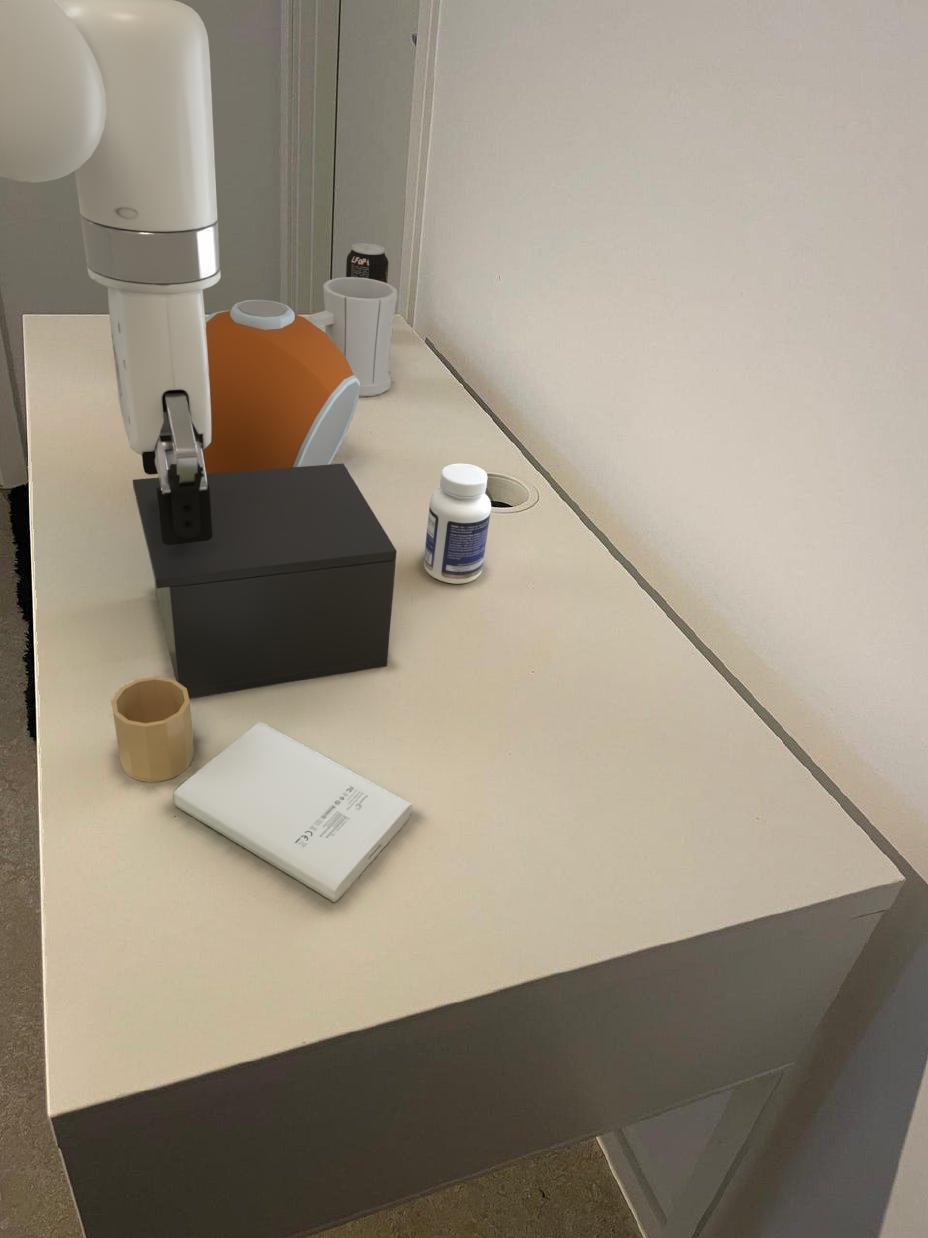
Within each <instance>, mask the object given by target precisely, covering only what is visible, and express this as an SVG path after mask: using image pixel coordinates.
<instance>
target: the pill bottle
mask: <svg viewBox="0 0 928 1238" xmlns="http://www.w3.org/2000/svg"><path fill="white" fill-rule="evenodd" d="M439 483H440V484H439V488H437V489H436V490H434V491H433V492H432V495H431V496H430V500H429V505H428V507H429V508H428V516H427V517H428V518H427V525H426V526H427V527H426V536H425V546H424V556H423V557H424V558H423V566H424V569H425V571H426V572H427V574H428V575H429V576H431V577H432V578H433V579H436V580H437V581H440V582H444V583H448V584H456V585H457V584H458V585H459V584H467V583H471V582H473V581H475V580H476V579H477V578H479V577H480V575H481V574H482V571H483V567H484V561H485V560H484V558H485V553H486V547H487V546H486V545H487V539H488V533H489V525H490V518H491V512H492V501H491V499H490V498H489V496H488V495H487V494H486V490H487V486H488V485H487V484H488V474H487V472H486V471H485V470H484V469H482V468H481V467H479V466H477V465H474V464H469V463H463V462H462V463H451V464H448V465H445V466H444V467H443V468H442V469H441V472H440V480H439Z"/></svg>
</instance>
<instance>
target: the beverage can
mask: <svg viewBox="0 0 928 1238" xmlns="http://www.w3.org/2000/svg"><path fill="white" fill-rule="evenodd" d="M385 252H386V249H385V247H383V246H381V245H378V244H374V243H367V242H362V243H361V242H359V243H358V242H357V243H354V244H352V245H351V250H350V251H349V253H348V254H347V257H346V261H345V265H346V266H345V277H357V278H367V279H373V280H377V281H381V282H385V283H387V284H388V279H389V278H388V276H389V265H390V263H389V259H388V257H387V256H386V253H385Z"/></svg>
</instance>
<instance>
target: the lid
mask: <svg viewBox="0 0 928 1238" xmlns="http://www.w3.org/2000/svg"><path fill="white" fill-rule="evenodd" d="M166 460H167V466H168V470H170V464H175V462H174V454H171V455H166ZM155 465H156V469H157V473H158V467H157V461H156V457H155ZM157 476H158V477H148V478H147V477H146V478H135V479H132V487H133V492H134V498H135V502H136V505H137V509H138V514H139V519H140V523H141V527H142V531H143V536H144V540H145V544H146V548H147V552H148V557H149V562H150V566H151V570H152V575H153V580H154V579H155V582H154V584H155V583H156V588H166V587H174V586H183V585H191V584H199V583H208V582H216V581H224V580H233V579H241V578H249V577H258V576H266V575H274V574H283V573H291V572H299V571H308V570H316V569H325V568H333V567H341V566H350V565H358V564H366V563H375V562H383V561H391V560H397V552H398V551H397V549H396V547H395V546H394V544H393V543H392V541H391V539H390V537H389V536H388V534H387V532H386V531H385V529H384V527H383V526H382V524H381V522H380V521H379V519H378V518H377V516H376V514H375V513H374V511H373V509H372V508H371V506H370V504H369V503H368V501H367V500H366V497H365V495H363V493H362V491H361V490H360V488H359V487H358V485H357V483H356V482H355V480H354V479H353V478H354V477H353V476H352V475H351V473H350V472H349V470H348V468H347V466H346V465H345V463H331V464H330V465H317V466H304V467H291V468H278V469H265V470H252V471H239V472H225V473H212V474H206V478H207V483H208V484H209V488H210V504H211V519H212V534H213V535H212V538H211V539H210V540H208V541H200V542H191V543H182V544H172V545H166V544H164V543H163V542H162V538H161V531H160V521H159V512H158V502H157V493H156V487H161V486H160V480H159V473H158V474H157Z"/></svg>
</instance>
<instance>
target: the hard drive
mask: <svg viewBox="0 0 928 1238" xmlns="http://www.w3.org/2000/svg"><path fill="white" fill-rule="evenodd" d="M173 803H174V807H176V808H178V809H180V810H181V811H183V812H185V813H186V814H187V815H189V816H191V817H193V818H194V819H196V820H198V821H199V822H201V823H203V824H204V825H206V826H207V827H209V828H211V829H213V830H214V831H216V832H218V833H219V834H220V835H222V836H224V837H225V838H227V839H229V840H230V841H232V842H234V843H236V844H237V845H239V846H240V847H242V848H244V849H246V850H247V851H249V852H251V854H254V855H255V856H257V857H258V858H260V859H261V860H263V861H265V862H267V863H268V864H271V865H272V866H273V867H274V868H277V869H278V870H280V871H282V872H283V873H285V874H286V875H288V876H289V877H292V878H293V879H295V880H296V881H298V882H299V883H301V884H302V885H304V886H306V887H308V888H309V889H311V890H313V891H315V892H316V893H318V894H320V895H321V896H322V897H324V898H325V899H327V900H329V901H331V902H332V903H336V902H337V901H338V900H339V899H341V897H343V895H344V894H345V893H346V892H347V890H348V889H349V888H350V887H351V886H352V885H353V884H354V883H355V882H356V880H357V879H358V878H360V876H361V875H362V874H363V873H364V871H365V870H366V869H367V868H368V867H369V865H370V864H371V863H372V862H373V861H374V860H375V859H376V858H377V856H378V855H379V854H380V853H381V852H382V851H383V849H385V847H386V846H387V845H388V844H389V843H390V842H391V840H392V839H393V838H394V837H395V836H396V834H398V832H399V831H400V830H401V829H402V827H404V826H405V824H406V823H407V822H408V821H409V818H410V817H411V816H412V815H411V814H412V807H413V804H412V803H410V801H407V800H405V799H403V798H402V797H401V796H398V795H396V794H394V793H392V792H390V791H389V790H387V789H386V788H384V787H381V786H380V785H378V784H376V783H374V782H373V781H370V780H368V779H367V778H365V777H363V776H362V775H359V774H358V773H356V772H354V771H352V770H350V769H348V768H347V767H345V766H343V765H341V764H339V763H337V762H335V761H334V760H332V759H330V758H328V757H327V756H324V755H323V754H321V753H319V752H317V751H316V750H314V749H312V748H310V747H308V746H306V745H304V744H303V743H301V742H299V741H297V740H296V739H294V738H291V737H290V736H288V735H286V734H285V733H282V732H281V731H278V730H277V729H275V728H273V727H271V726H269V725H268V724H266V723H264V722H261V721H259V722H257V723H255V724H253V725H252V726H251V727H250V728H249V729H247V730H246V731H245V732H244V733H243V734H241V736H239V737H238V738H236V739H235V741H233V742H232V743H230V744H229V745H228V746H227V747H225V749H223V750H222V751H221V752H220V753H218V754H217V755H216V756H215V757H214V758H212V759H211V760H210V761H208V762H207V763H206V764H205V765H203V766H202V767H201V768H200V769H199V770H197V771H196V772H195V773H193V774H192V775H191V776H190V777H189V778H187V779H186V780H185V781H184V782H183V783H182V784H181V785H180V786H178V787H177V788H176V789H175V790H174V791H173Z"/></svg>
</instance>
